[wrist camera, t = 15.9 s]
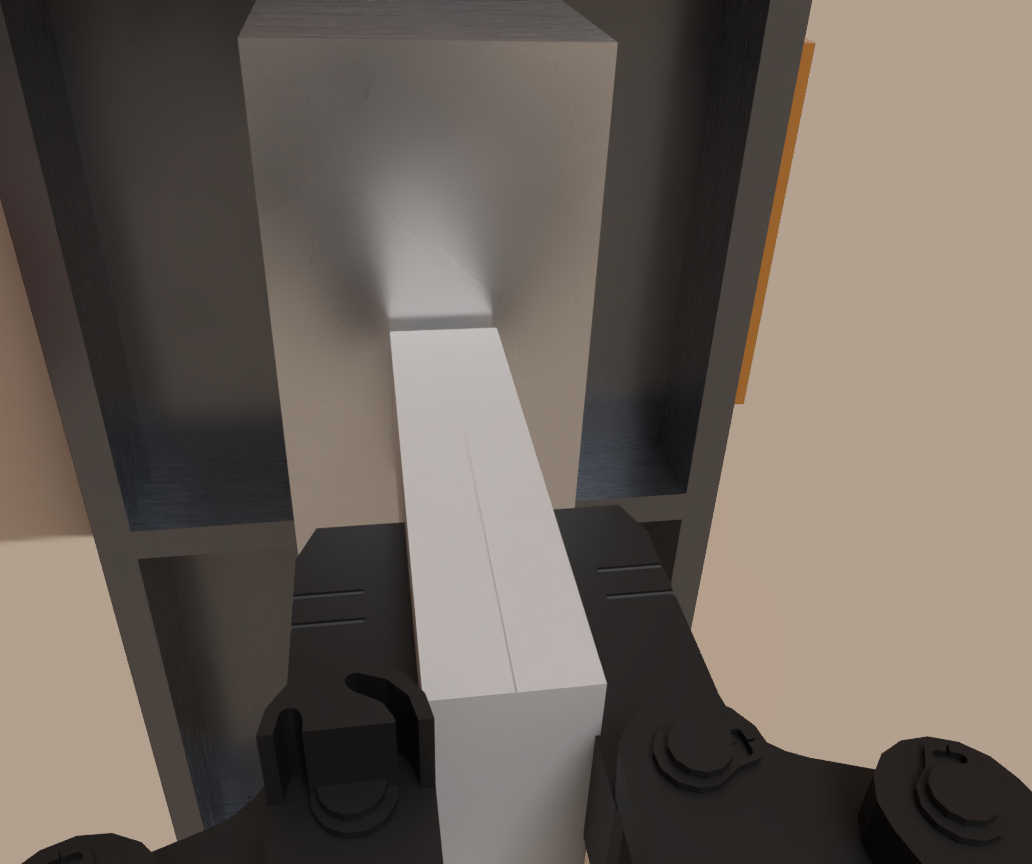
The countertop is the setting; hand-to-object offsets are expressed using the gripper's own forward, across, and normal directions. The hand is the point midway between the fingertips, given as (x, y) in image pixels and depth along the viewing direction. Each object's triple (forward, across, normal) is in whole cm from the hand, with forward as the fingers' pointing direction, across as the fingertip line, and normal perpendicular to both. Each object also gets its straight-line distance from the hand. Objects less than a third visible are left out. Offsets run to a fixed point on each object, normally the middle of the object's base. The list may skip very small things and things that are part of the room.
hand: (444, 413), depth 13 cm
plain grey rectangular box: (+8, 0, 0) cm, 8 cm away
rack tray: (+9, 0, -7) cm, 11 cm away
